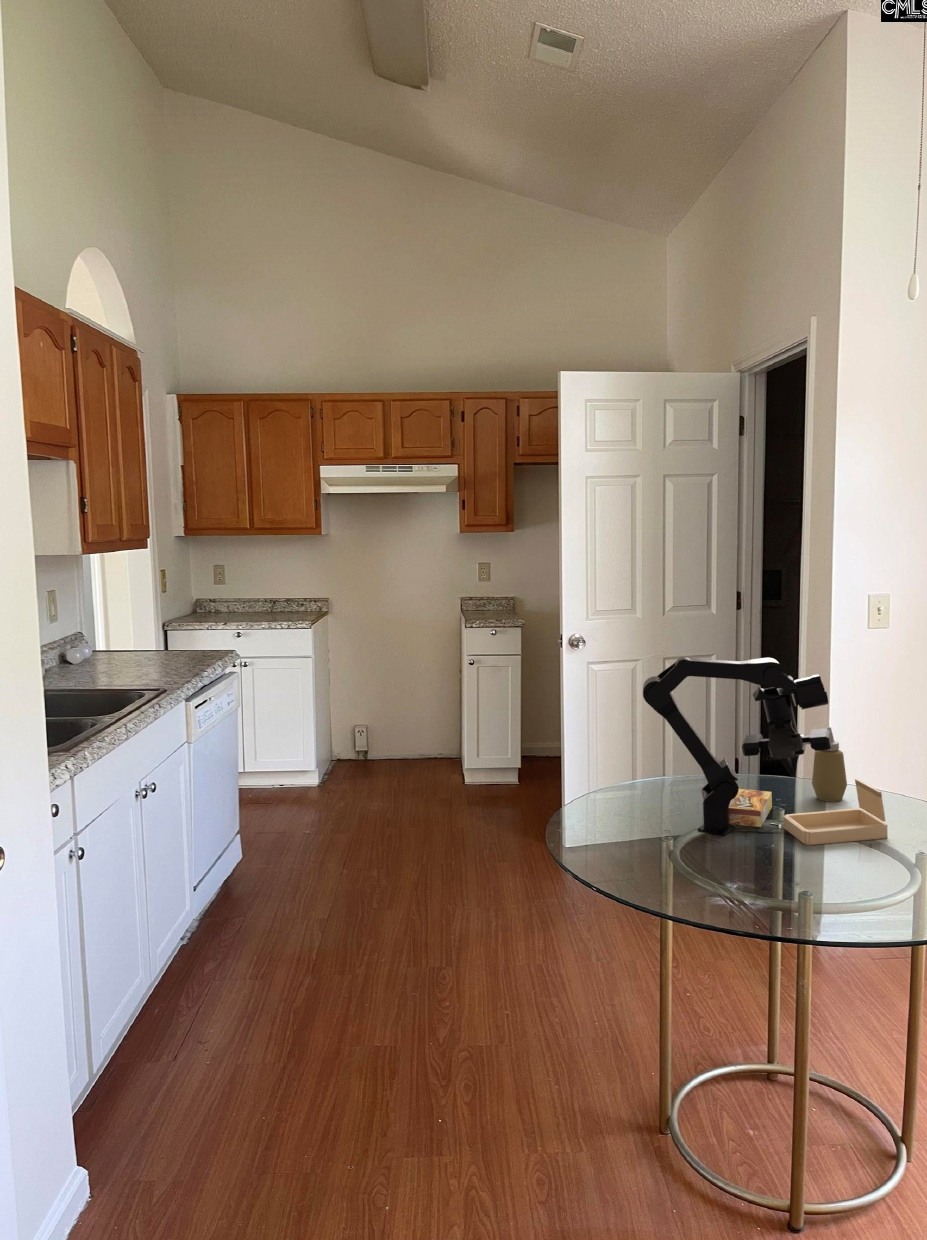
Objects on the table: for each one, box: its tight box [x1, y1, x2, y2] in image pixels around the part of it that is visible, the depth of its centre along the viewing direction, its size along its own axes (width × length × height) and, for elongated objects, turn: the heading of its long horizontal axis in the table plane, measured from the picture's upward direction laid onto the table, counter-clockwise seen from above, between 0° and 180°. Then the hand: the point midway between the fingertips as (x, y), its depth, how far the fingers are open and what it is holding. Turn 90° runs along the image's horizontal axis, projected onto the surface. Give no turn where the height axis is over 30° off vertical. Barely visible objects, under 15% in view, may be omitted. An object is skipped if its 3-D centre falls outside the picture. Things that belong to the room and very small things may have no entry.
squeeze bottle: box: [811, 726, 848, 802], centre depth 215 cm, size 8×8×18 cm
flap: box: [854, 778, 886, 823], centre depth 193 cm, size 1×10×7 cm, turn 4°
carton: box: [782, 808, 888, 846], centre depth 193 cm, size 18×12×3 cm, turn 94°
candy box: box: [729, 788, 773, 828], centre depth 208 cm, size 9×4×15 cm
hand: (793, 776), depth 198 cm, fingers closed
